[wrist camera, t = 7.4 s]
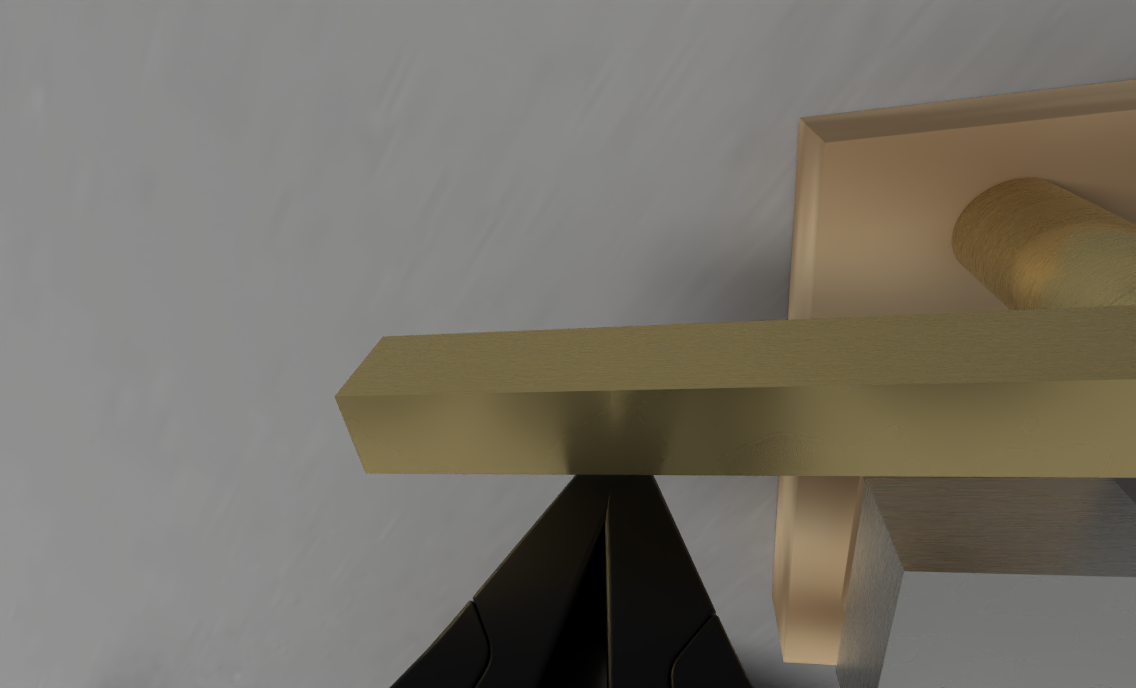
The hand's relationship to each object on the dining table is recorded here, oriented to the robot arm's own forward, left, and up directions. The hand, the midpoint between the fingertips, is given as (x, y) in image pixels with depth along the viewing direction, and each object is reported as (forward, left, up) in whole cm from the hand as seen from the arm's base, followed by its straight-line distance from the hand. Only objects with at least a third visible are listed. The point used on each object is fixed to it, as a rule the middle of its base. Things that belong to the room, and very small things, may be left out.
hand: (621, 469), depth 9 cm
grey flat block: (-8, -7, -4) cm, 11 cm away
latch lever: (+2, -2, -5) cm, 6 cm away
